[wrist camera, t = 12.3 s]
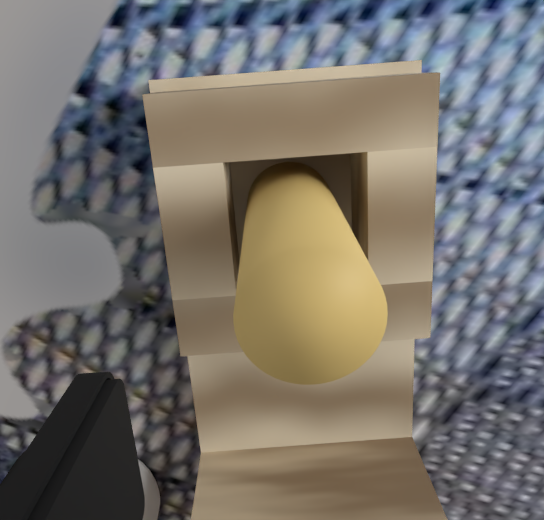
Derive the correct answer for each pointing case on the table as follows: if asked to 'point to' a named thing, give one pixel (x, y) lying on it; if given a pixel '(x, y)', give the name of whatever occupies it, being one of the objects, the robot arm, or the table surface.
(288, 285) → the peg
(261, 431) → the awning station
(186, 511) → the table surface
